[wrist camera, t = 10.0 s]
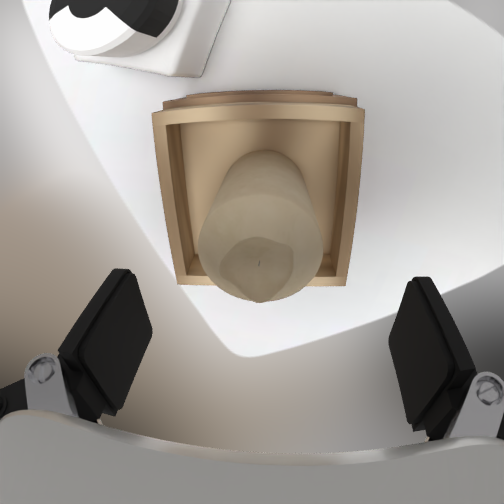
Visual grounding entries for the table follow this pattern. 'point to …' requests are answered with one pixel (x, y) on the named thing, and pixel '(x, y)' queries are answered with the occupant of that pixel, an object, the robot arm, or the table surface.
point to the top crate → (249, 140)
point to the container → (139, 33)
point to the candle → (261, 230)
